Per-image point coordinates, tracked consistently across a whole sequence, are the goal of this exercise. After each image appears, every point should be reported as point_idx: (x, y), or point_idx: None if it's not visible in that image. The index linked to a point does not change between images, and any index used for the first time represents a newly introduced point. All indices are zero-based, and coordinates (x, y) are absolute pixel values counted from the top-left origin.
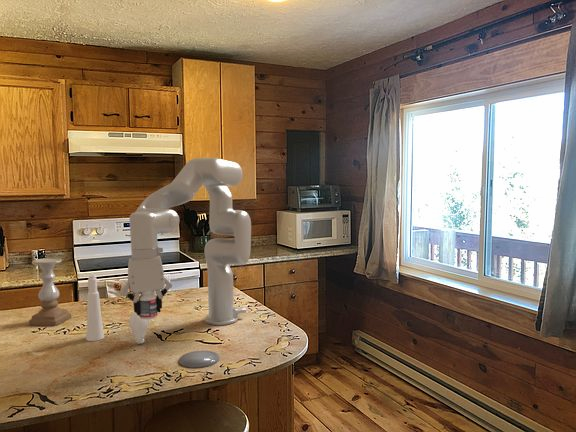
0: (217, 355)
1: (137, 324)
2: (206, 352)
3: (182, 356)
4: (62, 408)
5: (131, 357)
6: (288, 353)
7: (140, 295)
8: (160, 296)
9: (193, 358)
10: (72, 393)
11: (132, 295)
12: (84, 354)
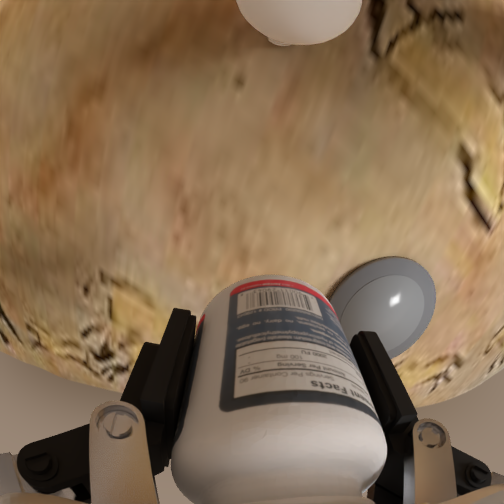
0: (424, 325)
1: (269, 33)
2: (421, 292)
3: (355, 279)
4: (33, 362)
5: (201, 154)
6: (499, 362)
7: (199, 479)
8: (384, 489)
9: (369, 315)
10: (35, 318)
11: (90, 495)
12: (72, 40)
